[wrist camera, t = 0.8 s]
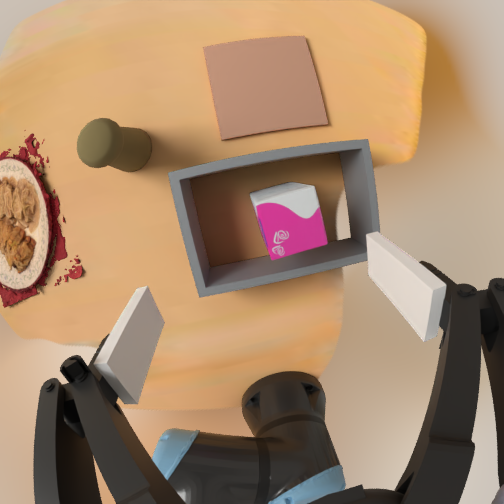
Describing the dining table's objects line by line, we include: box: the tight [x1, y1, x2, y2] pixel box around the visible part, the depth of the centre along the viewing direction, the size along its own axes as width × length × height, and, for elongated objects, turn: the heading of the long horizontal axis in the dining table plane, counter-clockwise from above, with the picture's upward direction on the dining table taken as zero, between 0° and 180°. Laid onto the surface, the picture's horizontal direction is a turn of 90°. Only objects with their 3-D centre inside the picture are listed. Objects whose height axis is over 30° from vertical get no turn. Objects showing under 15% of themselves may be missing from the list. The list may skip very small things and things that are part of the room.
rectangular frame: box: [168, 139, 380, 298], centre depth 31 cm, size 14×22×7 cm, turn 101°
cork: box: [77, 118, 152, 172], centre depth 26 cm, size 6×6×11 cm
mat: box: [203, 36, 328, 140], centre depth 30 cm, size 14×14×1 cm
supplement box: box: [250, 182, 328, 260], centre depth 29 cm, size 6×6×12 cm
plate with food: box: [0, 130, 82, 307], centre depth 31 cm, size 25×26×4 cm
